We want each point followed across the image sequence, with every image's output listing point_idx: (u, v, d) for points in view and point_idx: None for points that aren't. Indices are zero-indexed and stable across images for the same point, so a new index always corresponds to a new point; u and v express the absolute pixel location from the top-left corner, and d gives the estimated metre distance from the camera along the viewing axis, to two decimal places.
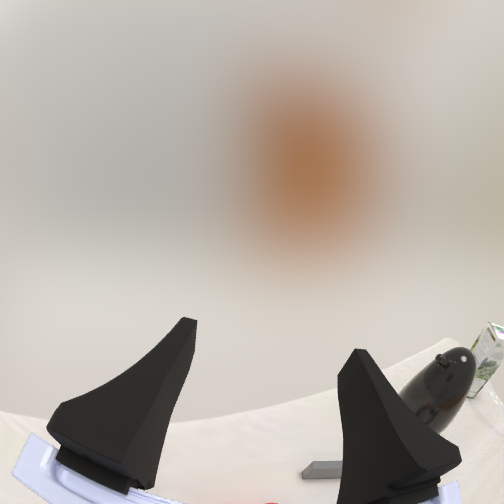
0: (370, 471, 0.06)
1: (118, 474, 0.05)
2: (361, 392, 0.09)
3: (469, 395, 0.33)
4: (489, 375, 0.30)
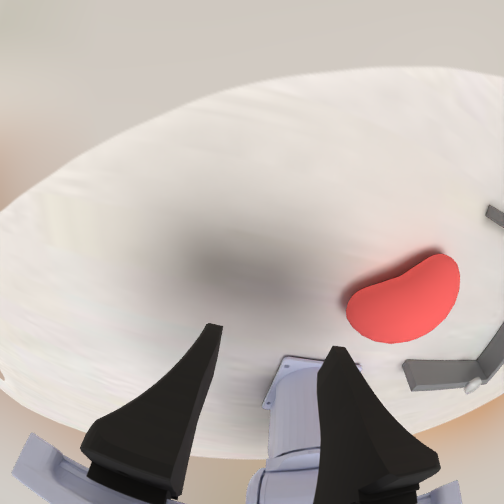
0: (343, 474, 0.06)
1: (156, 488, 0.05)
2: (337, 391, 0.09)
3: None
4: None
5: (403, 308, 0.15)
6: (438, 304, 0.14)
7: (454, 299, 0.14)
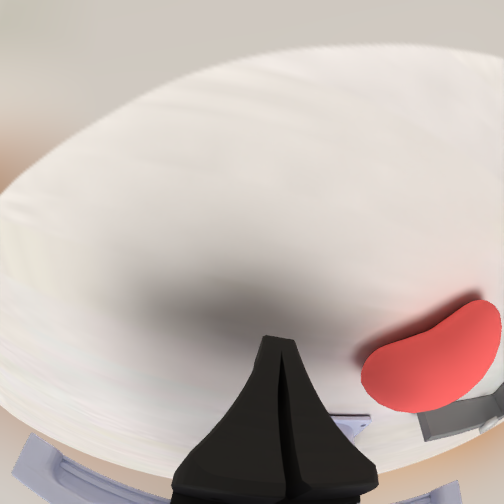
0: None
1: None
2: (278, 385, 0.09)
3: None
4: None
5: (435, 379, 0.10)
6: (477, 370, 0.09)
7: (493, 359, 0.09)
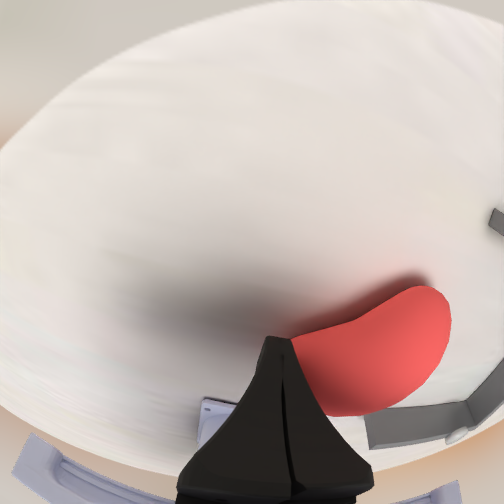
0: None
1: None
2: None
3: None
4: None
5: (346, 378, 0.10)
6: (407, 373, 0.09)
7: (438, 360, 0.09)
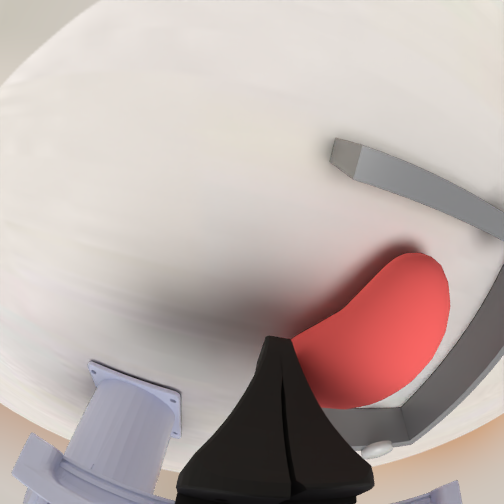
0: None
1: None
2: None
3: None
4: None
5: (337, 372, 0.09)
6: (402, 353, 0.08)
7: (439, 331, 0.08)
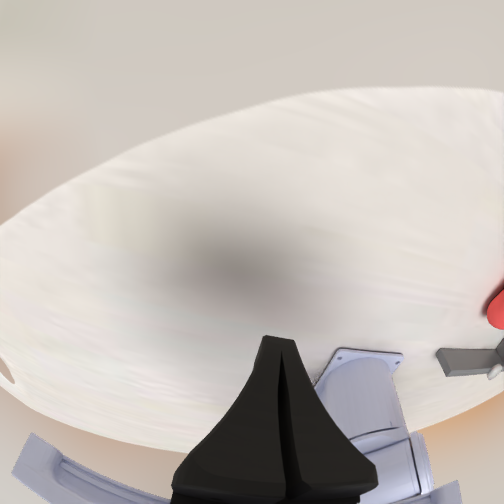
0: None
1: None
2: (278, 385, 0.09)
3: None
4: None
5: None
6: None
7: None
